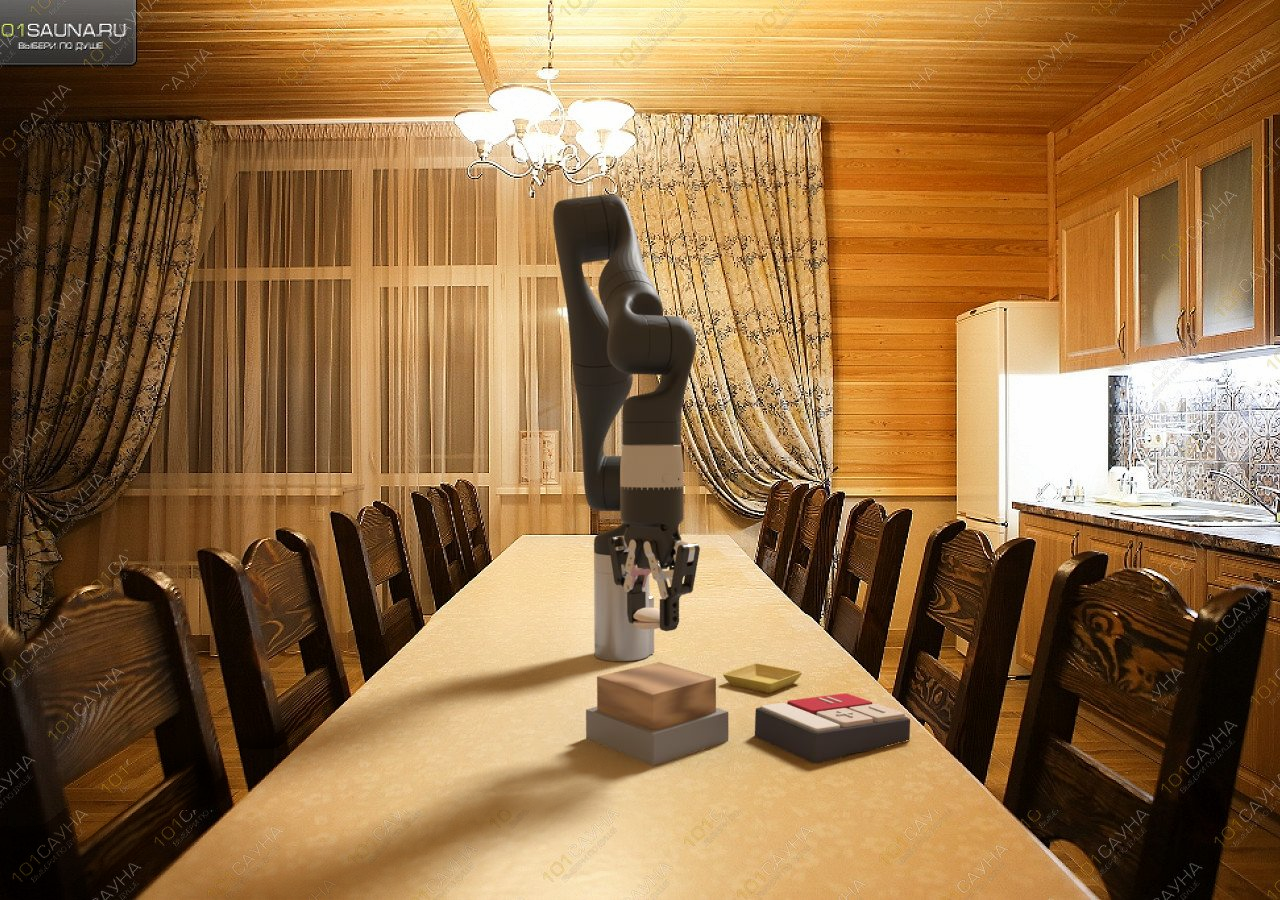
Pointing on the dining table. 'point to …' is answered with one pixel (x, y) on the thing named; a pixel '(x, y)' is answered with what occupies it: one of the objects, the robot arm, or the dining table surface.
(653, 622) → the pistachio nut
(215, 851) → the dining table surface
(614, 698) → the tower top block
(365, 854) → the dining table surface
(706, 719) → the tower base block
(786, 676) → the yellow shallow square tray
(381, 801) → the dining table surface
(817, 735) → the calculator
